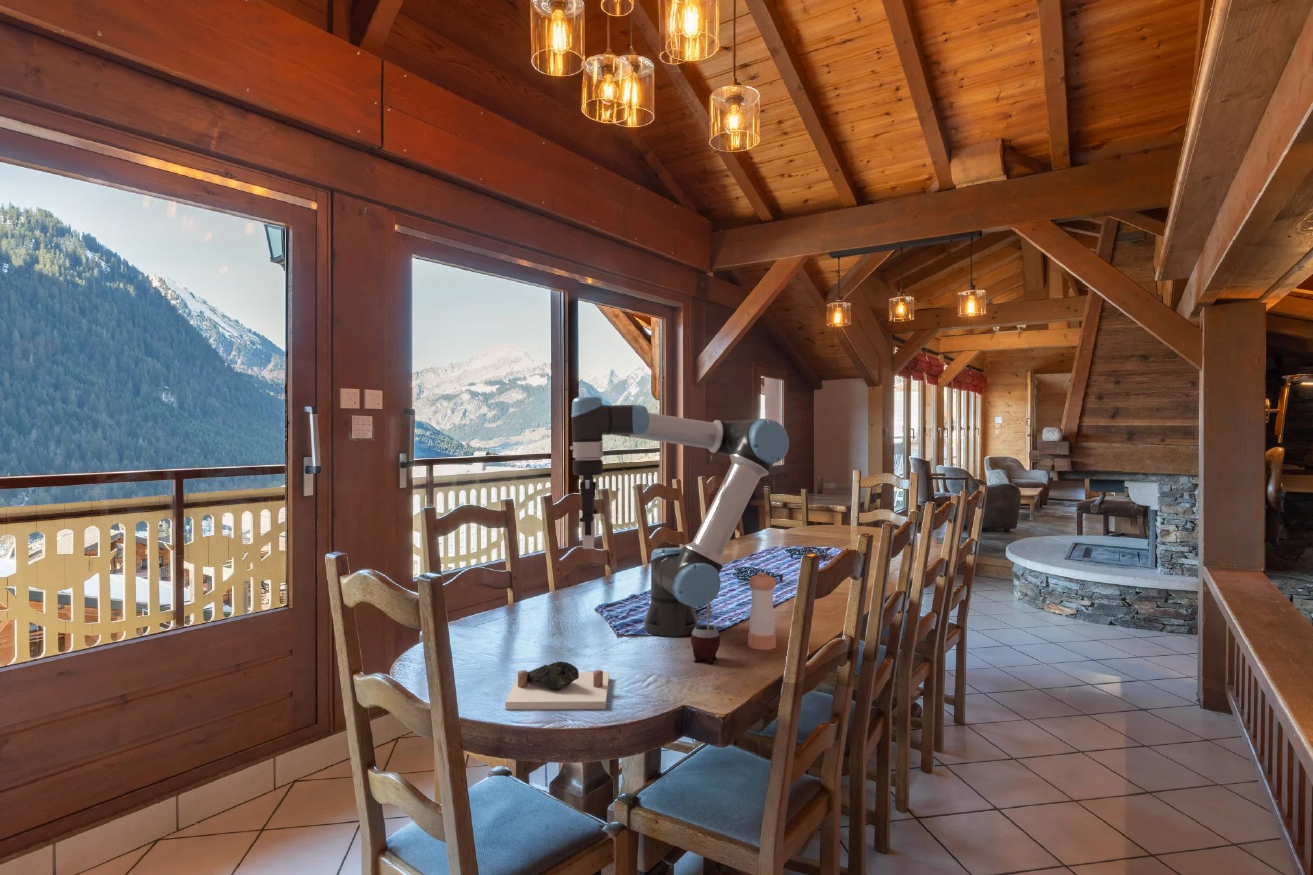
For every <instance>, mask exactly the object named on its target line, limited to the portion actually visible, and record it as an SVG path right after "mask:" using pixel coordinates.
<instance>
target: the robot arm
mask: <svg viewBox="0 0 1313 875" xmlns="http://www.w3.org/2000/svg"><path fill="white" fill-rule="evenodd" d="M570 416H571V432H572V434H571V435H572V445H570V446H569V449H570V450H571V451H572V458H574V459H573V460H572V475H573V476H582V481H581V482H580V483H579V489H580V498H581V499H582V501H581V502H582V506H581V507H582V508H581V510H582V515H581V517H580V518H579V523H581V525H582V530H581V531H582V549H583V550H593V549H595V540H596V518H595V517H596V514H598V509H596V507H595V498H596V490H597V482H596V481H594V479H595V478H594V476H601V475H602V474H604V462H603V460H602V458H603V457H604V448H603V447H604V442H603V436H611V435H612V436H619V437H620V436H621V437H626V438H635V439H639V440H640V439H642V440H648V441H654V442H655V441H656V442H660V443H661V442H662V443H669V444H674V445H682V446H690V447H696V448H703V449H708V450H709V452H710V453H712V454H719V455H723V456H727V457H729V458H730V462H731V464H730V466H729V468H728V470H727V473H726V474H725V476H724V478H723V480H722V482H721V485H720V486H719V489H718V491H717V492H716V495H715V496H714V499H713V500H712V502H711V504H710V506H709V508H708V510H707V512H706V514H705V516H704V519H703V520H702V522H701V524H700V526H699V528H698V530H697V532H696V534H695V536H694V538H693V540H692V541H691V542H690V543H687V544H684V545H683V547H681V546H680V547H664V548H663V547H662V548H655V549H653V550H652V552H651V557H650V558H651V559H650V604H649V606H648V609H647V612H646V616H645V619H644V631H645V630H646V631H645V632H647V633H648V634H651V635H655V636H660V637H672V638H673V637H674V638H675V637H683V636H684V637H685V636H686V637H687V636H690V635H692V631H693V630H694V628H695V627H696V626H699V620H698V618H697V614H696V611H695V608H700V607H704V606H706V605H708V595H709V594H711V597H710V603H712V602H713V601H714V600H715V599H716V597H717V595H718V594H719V592H720V589H721V585H722V584H721V583H722V582H721V577H720V573H721V571H722V569H723V567H724V563H723V560H722V556H723V554H724V553H725V550H726V548H727V546H728V544H729V542H730V540H731V539H732V536H733V534H734V532H735V529H736V528H737V526H738V523H739V522H740V520H741V518H742V516H743V513H744V511H745V509H746V507H747V505H748V504H749V501H750V499H751V497H752V495H753V494H754V491H755V489H756V487H757V485H758V483H759V481H760V479H761V478H763V477H766V476H769V474H770V472H771V469H772V468H773V466H774V464H775V463H778V462H781V461H782V460H783V459H784V458H785V457H786V455H788V454H787V453H788V451H789V446H790V439H789V435H788V433H787V430H786V429H785V428H784V426H783V425H782V424H781V423H780V422H778V421H776V420H774V419H768V418H759V419H740V420H721V419H715V420H714V421H713V422H712V421H705V420H697V419H692V418H685V417H678V416H673V415H672V416H671V415H665V414H658V413H653V412H649V410H648V408H647V407H646V406H645V405H642V404H640V405H638V404H619V405H618V404H616V405H615V404H613V405H608V404H607V405H606V404H603V400H602V398H601V397H598V396H581V397H578V396H577V397H574V399H573V400H572V402H571V415H570Z"/></svg>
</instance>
